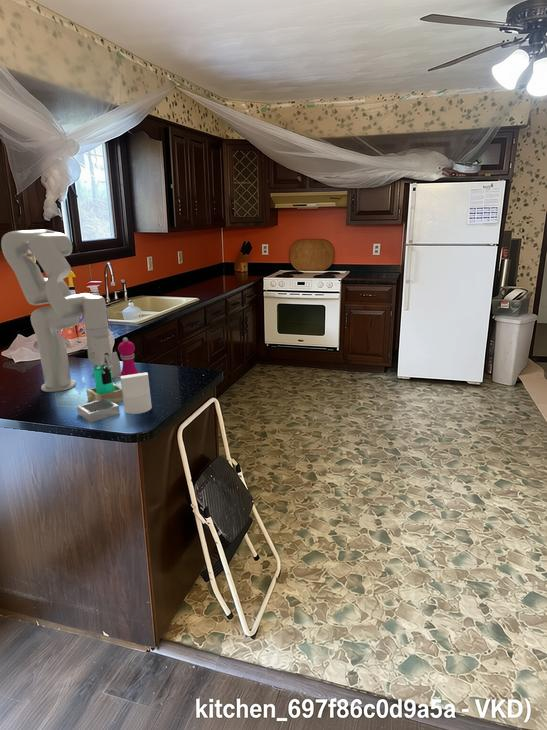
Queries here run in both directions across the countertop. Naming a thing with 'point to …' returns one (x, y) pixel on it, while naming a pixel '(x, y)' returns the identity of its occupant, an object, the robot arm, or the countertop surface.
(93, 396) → the wooden frame
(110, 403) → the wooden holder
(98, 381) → the candle
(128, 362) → the pepper mill
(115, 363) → the grey angular block
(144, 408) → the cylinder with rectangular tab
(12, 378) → the countertop surface
